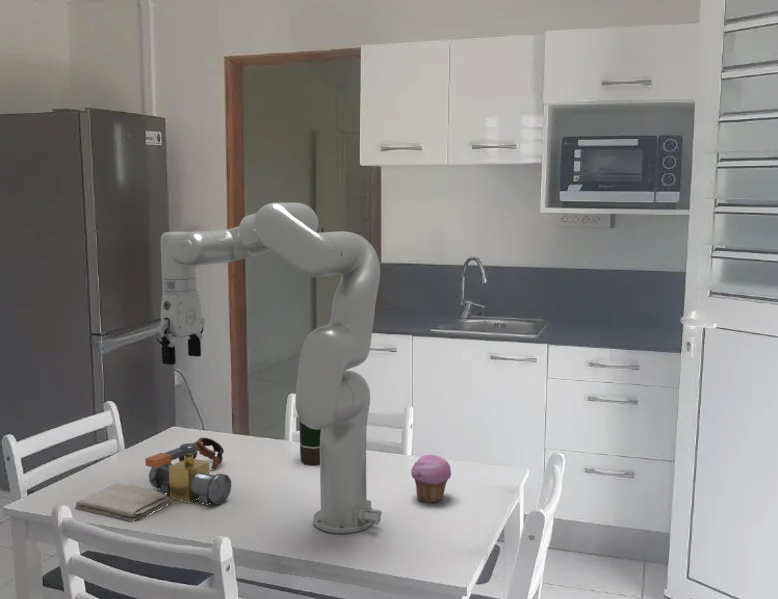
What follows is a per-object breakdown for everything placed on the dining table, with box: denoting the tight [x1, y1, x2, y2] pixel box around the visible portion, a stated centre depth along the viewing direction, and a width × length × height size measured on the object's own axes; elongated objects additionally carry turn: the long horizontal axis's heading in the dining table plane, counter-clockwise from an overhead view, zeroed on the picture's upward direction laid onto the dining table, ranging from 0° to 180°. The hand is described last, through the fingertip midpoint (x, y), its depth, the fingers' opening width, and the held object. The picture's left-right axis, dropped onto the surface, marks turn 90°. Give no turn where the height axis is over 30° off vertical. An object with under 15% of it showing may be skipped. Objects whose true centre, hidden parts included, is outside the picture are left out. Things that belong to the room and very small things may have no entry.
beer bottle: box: [299, 419, 321, 466], centre depth 196 cm, size 8×8×24 cm
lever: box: [144, 442, 198, 468], centre depth 168 cm, size 4×13×2 cm, turn 149°
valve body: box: [148, 454, 232, 505], centre depth 173 cm, size 19×6×10 cm, turn 59°
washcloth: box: [75, 482, 172, 522], centre depth 168 cm, size 12×18×3 cm, turn 65°
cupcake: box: [410, 454, 452, 503], centre depth 170 cm, size 9×9×10 cm
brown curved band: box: [178, 437, 225, 470], centre depth 192 cm, size 12×10×8 cm
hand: (182, 359), depth 176 cm, fingers open, 9 cm apart
